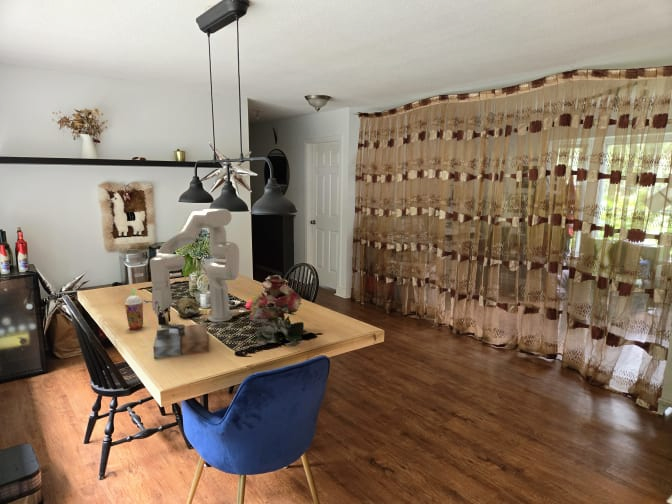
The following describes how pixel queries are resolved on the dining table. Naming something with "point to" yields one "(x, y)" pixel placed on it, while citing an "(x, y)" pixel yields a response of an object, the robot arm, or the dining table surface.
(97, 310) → the dining table surface
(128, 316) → the smoothie
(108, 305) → the dining table surface
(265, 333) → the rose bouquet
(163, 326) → the switch lever
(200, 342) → the lever switch panel
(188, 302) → the mineral specimen
